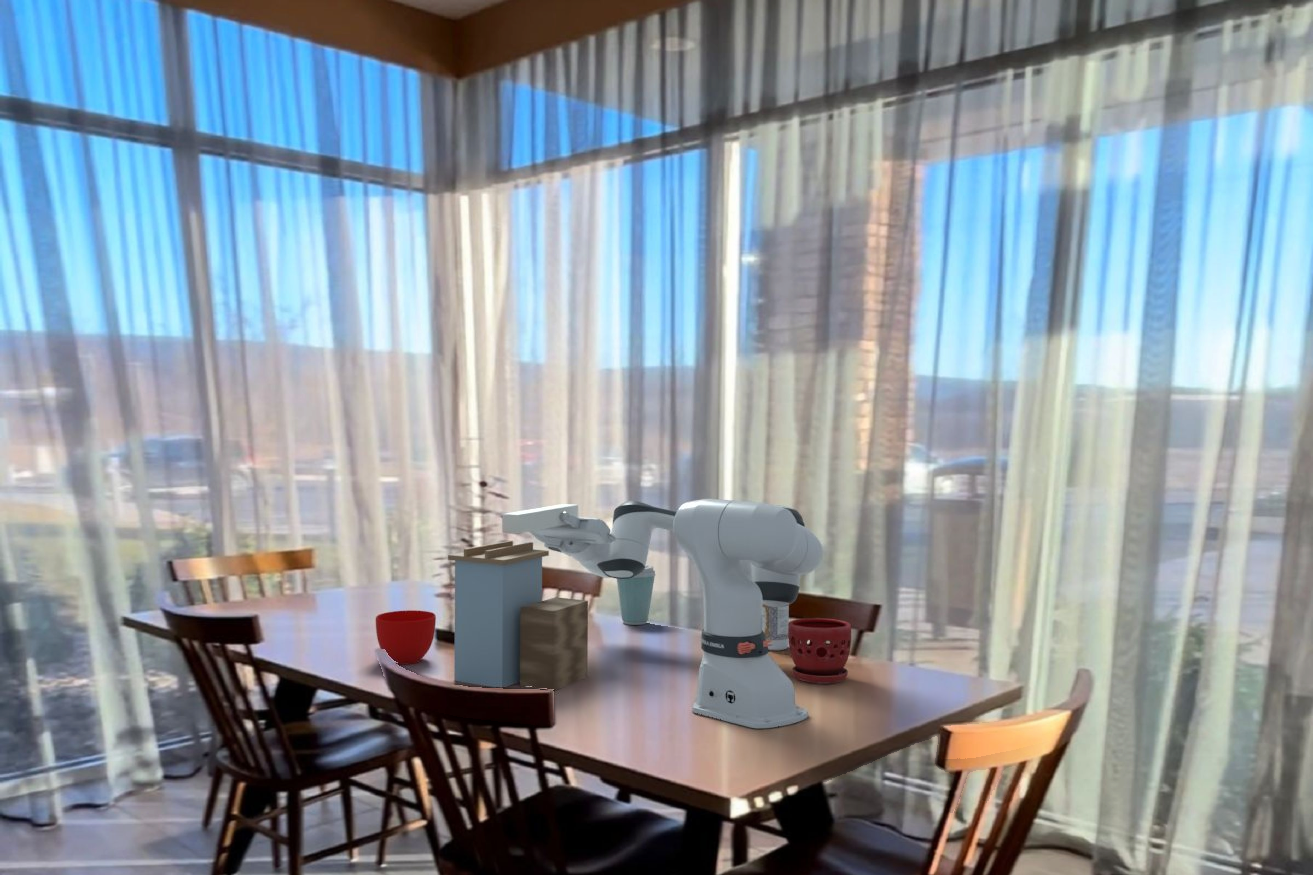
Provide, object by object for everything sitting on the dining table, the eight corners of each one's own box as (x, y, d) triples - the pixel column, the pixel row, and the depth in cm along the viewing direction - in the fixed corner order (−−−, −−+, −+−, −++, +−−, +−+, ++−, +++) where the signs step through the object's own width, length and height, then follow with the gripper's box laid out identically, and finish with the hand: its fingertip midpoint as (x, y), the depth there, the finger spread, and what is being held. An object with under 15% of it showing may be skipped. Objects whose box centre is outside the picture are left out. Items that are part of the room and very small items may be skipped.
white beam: (563, 520, 238) (563, 503, 237) (578, 521, 236) (578, 504, 236) (502, 532, 216) (502, 513, 216) (517, 533, 214) (517, 514, 214)
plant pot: (863, 679, 213) (864, 622, 213) (824, 690, 205) (825, 631, 204) (813, 667, 223) (814, 613, 223) (774, 677, 214) (775, 621, 214)
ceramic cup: (414, 647, 238) (414, 605, 237) (445, 662, 224) (445, 617, 224) (360, 655, 230) (360, 611, 230) (388, 671, 216) (389, 624, 216)
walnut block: (555, 671, 217) (555, 597, 217) (587, 676, 213) (587, 600, 213) (520, 685, 206) (520, 607, 205) (553, 691, 202) (553, 611, 201)
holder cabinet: (494, 664, 223) (495, 539, 222) (547, 672, 216) (548, 543, 216) (447, 681, 209) (448, 547, 208) (503, 690, 202) (504, 552, 202)
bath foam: (754, 645, 244) (755, 562, 244) (780, 643, 246) (781, 561, 246) (765, 651, 237) (766, 566, 237) (792, 649, 239) (794, 565, 239)
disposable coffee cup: (613, 626, 264) (613, 568, 263) (616, 618, 274) (616, 562, 274) (654, 627, 263) (654, 569, 263) (655, 618, 274) (656, 563, 274)
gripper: (615, 554, 234) (588, 529, 224) (541, 548, 244) (511, 524, 233) (621, 529, 237) (595, 503, 226) (548, 524, 246) (519, 499, 236)
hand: (552, 514), depth 230 cm, fingers closed on white beam, 4 cm apart
